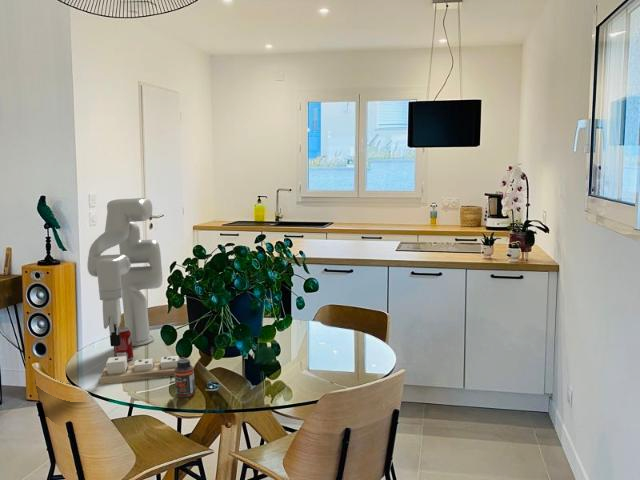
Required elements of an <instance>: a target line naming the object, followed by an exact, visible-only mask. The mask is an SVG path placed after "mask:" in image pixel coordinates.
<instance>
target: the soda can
mask: <svg viewBox="0 0 640 480" xmlns="http://www.w3.org/2000/svg"><path fill="white" fill-rule="evenodd" d="M119 333H120V339H121V344H120V346H113V352H114V353H113V354H114V357H120V356H126V357H127V362H129V361H131V360H132V359H133V358H134V349H133V347H134V346H132V336H131V332H130V331H129V328H127V327H125V326H124V327H123V326H122V327H119Z"/></svg>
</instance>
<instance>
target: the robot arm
mask: <svg viewBox="0 0 640 480" xmlns="http://www.w3.org/2000/svg"><path fill="white" fill-rule="evenodd" d="M106 210H107V212H106V213H107V214H106V217H105V218H106V219H105V228H104V231H103V233H102V234H100V235H99V236H98V237H97V238H96V239H95V240H94V241H93V242H92V244H91V245H90V248H89V251H88V256H87V263H86V264H87V271H88V274H89V275H90V276H91V277H95V278H97V284H98V293H99V294H98V295H99V300H100V301H102V319H103V321H102V322H103V329H104V330H107V328H108V329H109V331H108V332H109V342H110V347H114V346H120V344H121V339H120V333H119V328H120V325H121V322H122V310H121V300H122V309H123V317H124V320H123V321H124V327H127V328H129V331H130V332H131V336H132V347H137V346H143V345H148V344H150V343H152V342H154V341H155V337H154V335H151V334H150V324H149V313H148V311H149V309H148V300H147V297H146V296H145V294H143V292H141V291H142V290H154V289H159V288H161V287H162V285H163V268H162V257H161V256H162V255H161V249H160V244H159V243H158V241H157V240H155V239H141V231H140V230H141V229H140V227H139V225H138V224H137V222H145V221H148V220H149V219H150V218H151V217H152V215H153V204H152V202H151V200H150V199H149V198H148V197H138V198H119V199H113V200H111V201H108V202H107V204H106ZM116 246H118V247H119V253H118V254H103V253H104V252H105V251H106V250H109V249H111V248H113V247H116ZM131 264H133V265H134V264H136V265H137V264H149V265H144V266H143V265H141V266H131ZM120 299H121V300H120Z"/></svg>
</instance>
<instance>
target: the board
mask: <svg viewBox="0 0 640 480" xmlns="http://www.w3.org/2000/svg"><path fill="white" fill-rule="evenodd" d="M180 358H181V357H179V360H180ZM160 362H161V359H160V360H159V359H158V360H153V365H154V368H153V370H145V371H136V372H134V364H135V362H129V363H127V369H126V372H123V373H114V374H107V365H105V366H104V368H103V371H102V373H101V375H100V377H99V384H100V385H104V384H112V383H121V382H131V381H139V380H140V381H141V380H146V379H147V380H148V379H157V378H165V376H167V377H173V376H174V377H175V368H176V367H172V368H163V369H161V363H160Z"/></svg>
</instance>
